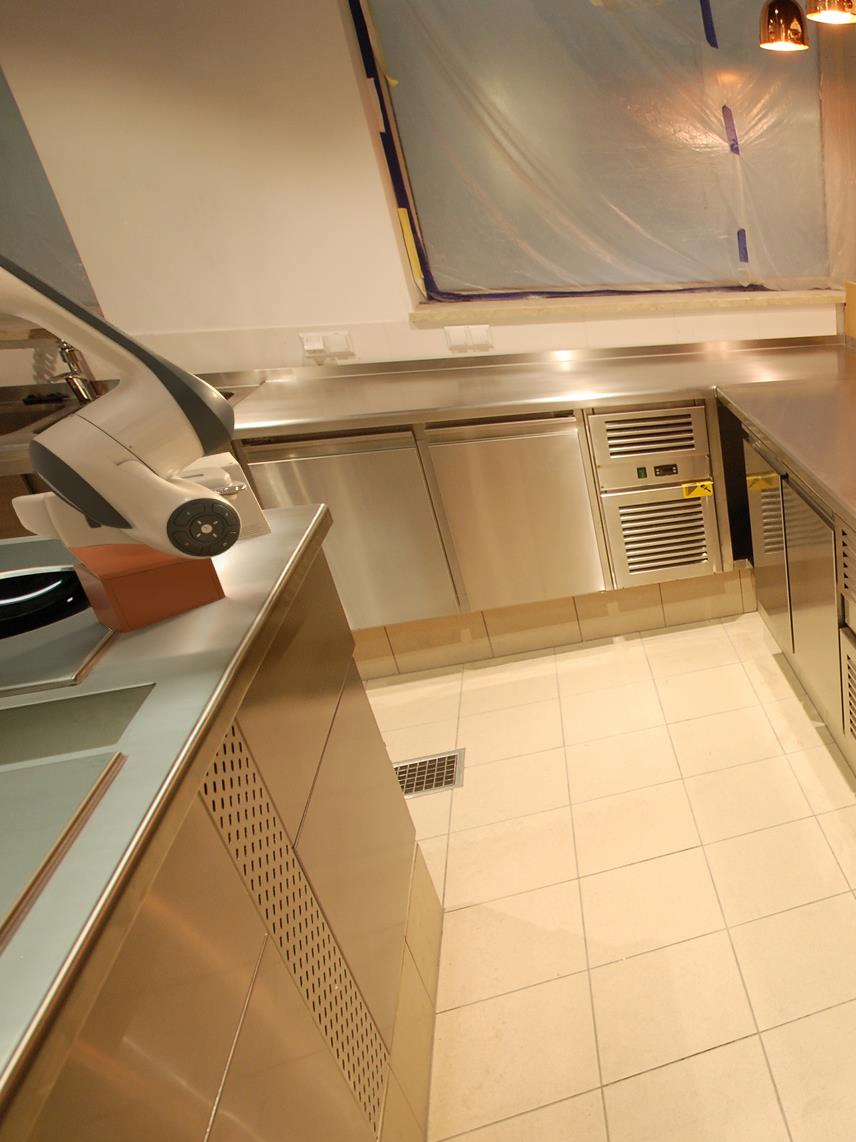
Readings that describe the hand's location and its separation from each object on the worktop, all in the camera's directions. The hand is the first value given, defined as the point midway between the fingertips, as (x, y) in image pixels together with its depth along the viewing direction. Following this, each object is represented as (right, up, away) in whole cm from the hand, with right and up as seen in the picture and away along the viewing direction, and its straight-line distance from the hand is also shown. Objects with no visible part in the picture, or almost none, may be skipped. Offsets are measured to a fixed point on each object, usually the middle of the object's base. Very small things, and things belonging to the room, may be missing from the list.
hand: (111, 488), depth 109 cm
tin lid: (0, -8, +3) cm, 9 cm away
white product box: (-10, -5, +32) cm, 34 cm away
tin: (0, -17, +7) cm, 19 cm away
